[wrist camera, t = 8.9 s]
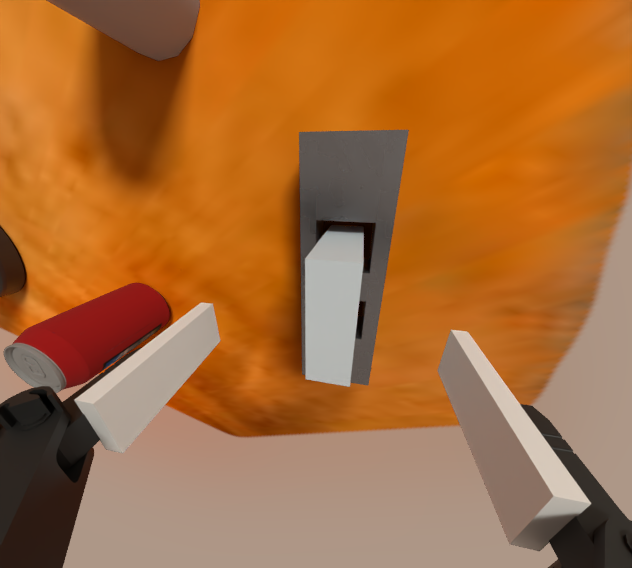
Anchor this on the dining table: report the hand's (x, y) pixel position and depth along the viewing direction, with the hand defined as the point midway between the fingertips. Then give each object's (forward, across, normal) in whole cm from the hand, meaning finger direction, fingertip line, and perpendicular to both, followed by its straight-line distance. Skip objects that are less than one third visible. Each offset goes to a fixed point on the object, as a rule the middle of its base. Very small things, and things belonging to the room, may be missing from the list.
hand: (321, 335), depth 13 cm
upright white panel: (+11, +1, 0) cm, 11 cm away
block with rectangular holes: (+11, +1, 0) cm, 11 cm away
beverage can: (+12, -25, -7) cm, 28 cm away
